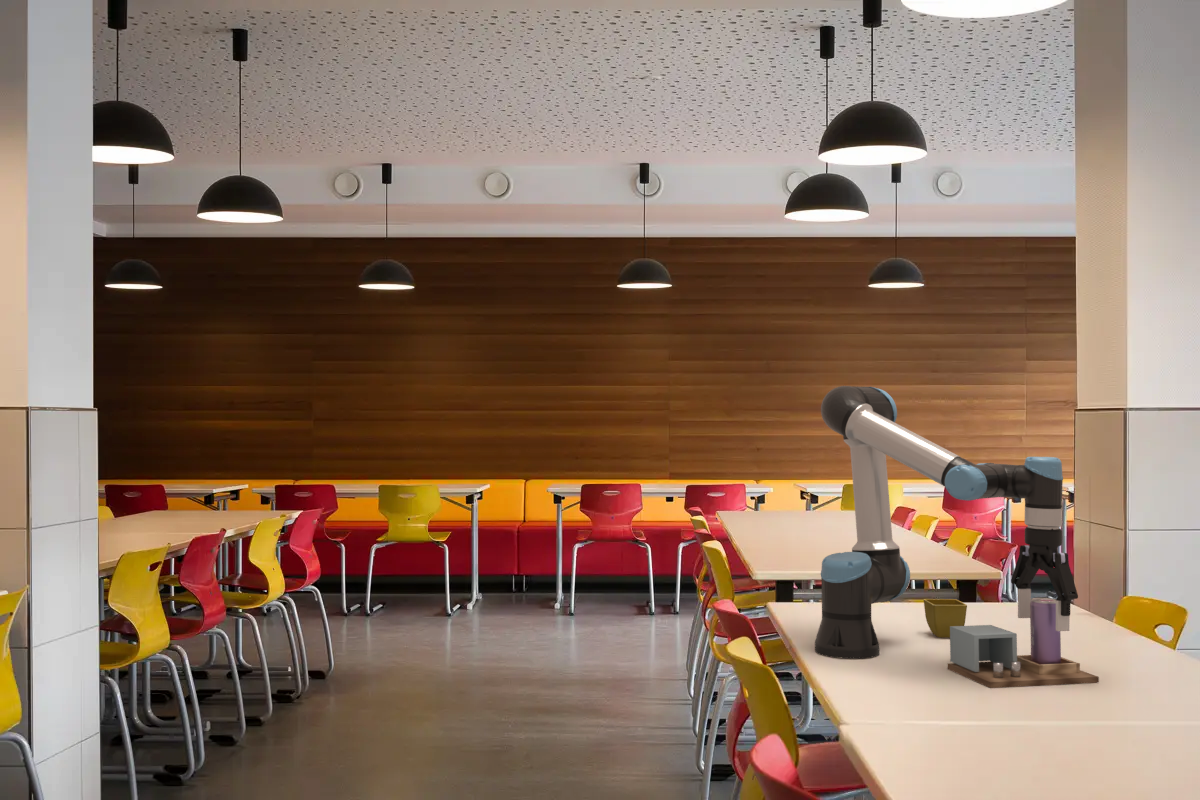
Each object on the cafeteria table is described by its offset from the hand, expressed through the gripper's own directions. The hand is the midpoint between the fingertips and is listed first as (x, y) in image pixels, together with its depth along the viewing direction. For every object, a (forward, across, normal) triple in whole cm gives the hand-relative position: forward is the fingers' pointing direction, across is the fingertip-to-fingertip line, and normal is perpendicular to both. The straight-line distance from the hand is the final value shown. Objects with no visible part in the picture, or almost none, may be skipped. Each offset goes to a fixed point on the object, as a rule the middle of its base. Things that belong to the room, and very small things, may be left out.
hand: (1042, 624), depth 216 cm
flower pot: (+12, +41, 0) cm, 43 cm away
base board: (+11, -1, +6) cm, 12 cm away
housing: (+10, +3, +12) cm, 16 cm away
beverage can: (+10, -1, 0) cm, 10 cm away
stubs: (+10, -6, +12) cm, 16 cm away
